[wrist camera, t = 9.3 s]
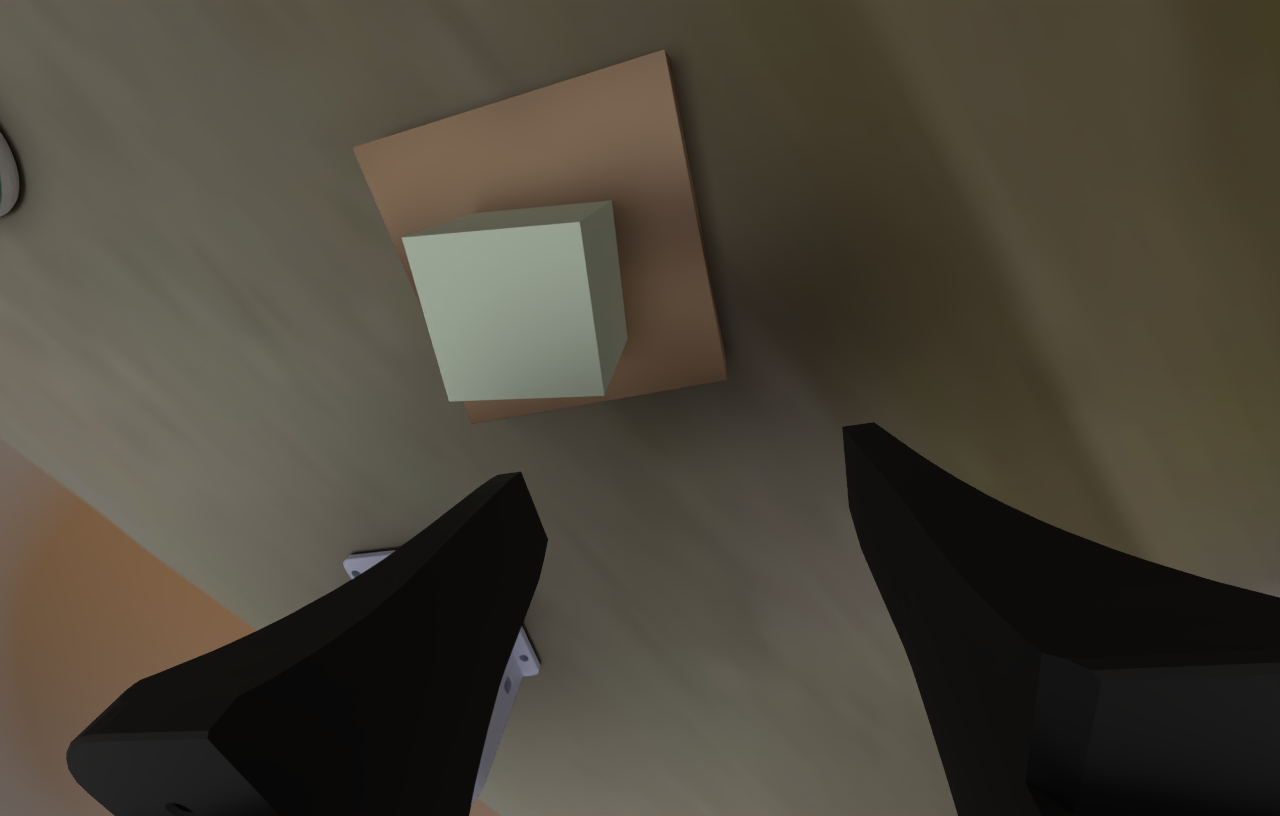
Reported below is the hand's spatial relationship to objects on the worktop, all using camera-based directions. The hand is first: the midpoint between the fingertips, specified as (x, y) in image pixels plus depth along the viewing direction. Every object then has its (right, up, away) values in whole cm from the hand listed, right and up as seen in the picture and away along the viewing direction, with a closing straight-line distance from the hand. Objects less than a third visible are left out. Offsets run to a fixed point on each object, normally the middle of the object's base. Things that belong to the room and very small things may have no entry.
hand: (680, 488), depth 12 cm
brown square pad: (-4, +7, +8) cm, 11 cm away
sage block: (-4, +6, +6) cm, 9 cm away
